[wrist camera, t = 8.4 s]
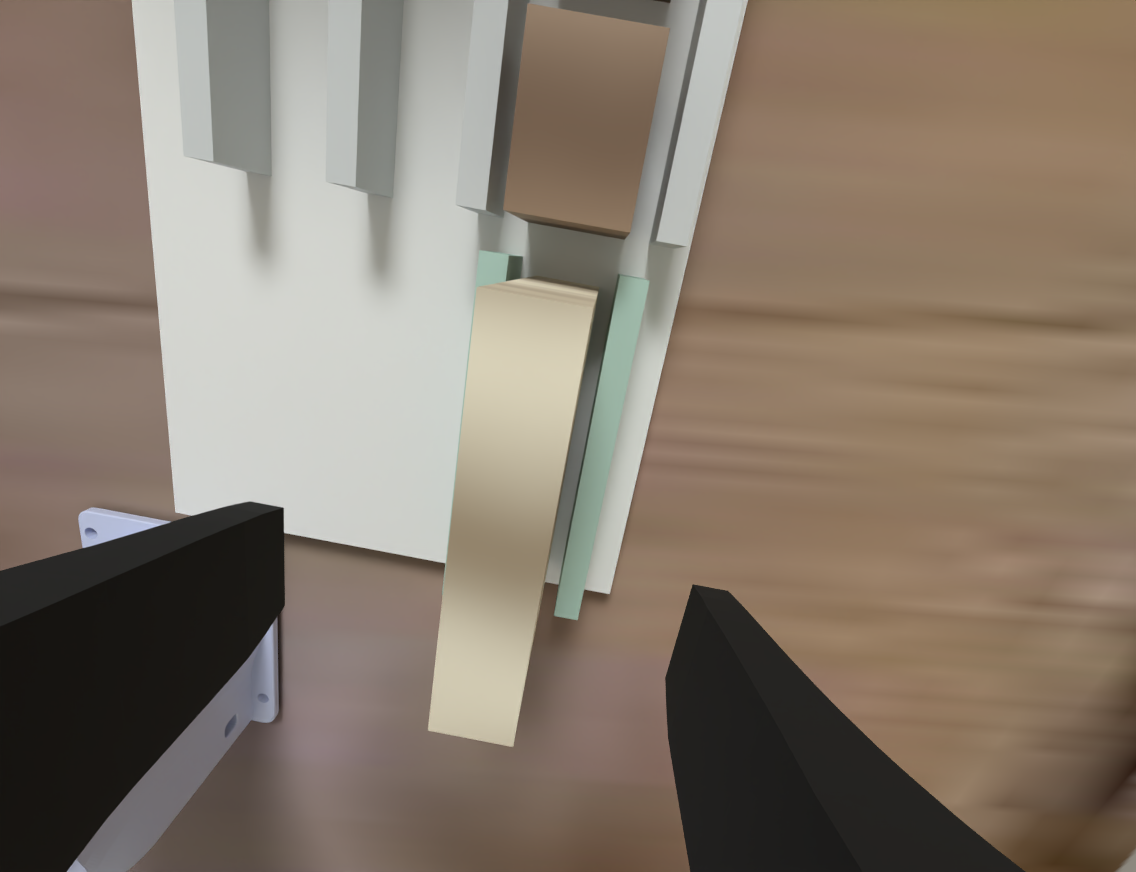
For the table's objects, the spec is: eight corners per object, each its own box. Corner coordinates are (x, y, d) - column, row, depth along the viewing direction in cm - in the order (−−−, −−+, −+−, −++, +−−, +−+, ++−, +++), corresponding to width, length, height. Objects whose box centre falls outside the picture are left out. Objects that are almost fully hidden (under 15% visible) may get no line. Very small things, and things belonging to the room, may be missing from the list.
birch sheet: (549, 559, 20) (512, 746, 12) (497, 549, 20) (427, 730, 12) (599, 287, 16) (593, 308, 9) (536, 275, 16) (476, 287, 9)
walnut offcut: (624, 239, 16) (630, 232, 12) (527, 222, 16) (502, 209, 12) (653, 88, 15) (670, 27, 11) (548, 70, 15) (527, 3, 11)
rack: (609, 578, 21) (609, 638, 17) (195, 500, 21) (118, 545, 18) (794, -228, 13) (859, -395, 10) (134, -339, 13) (-23, -540, 10)
